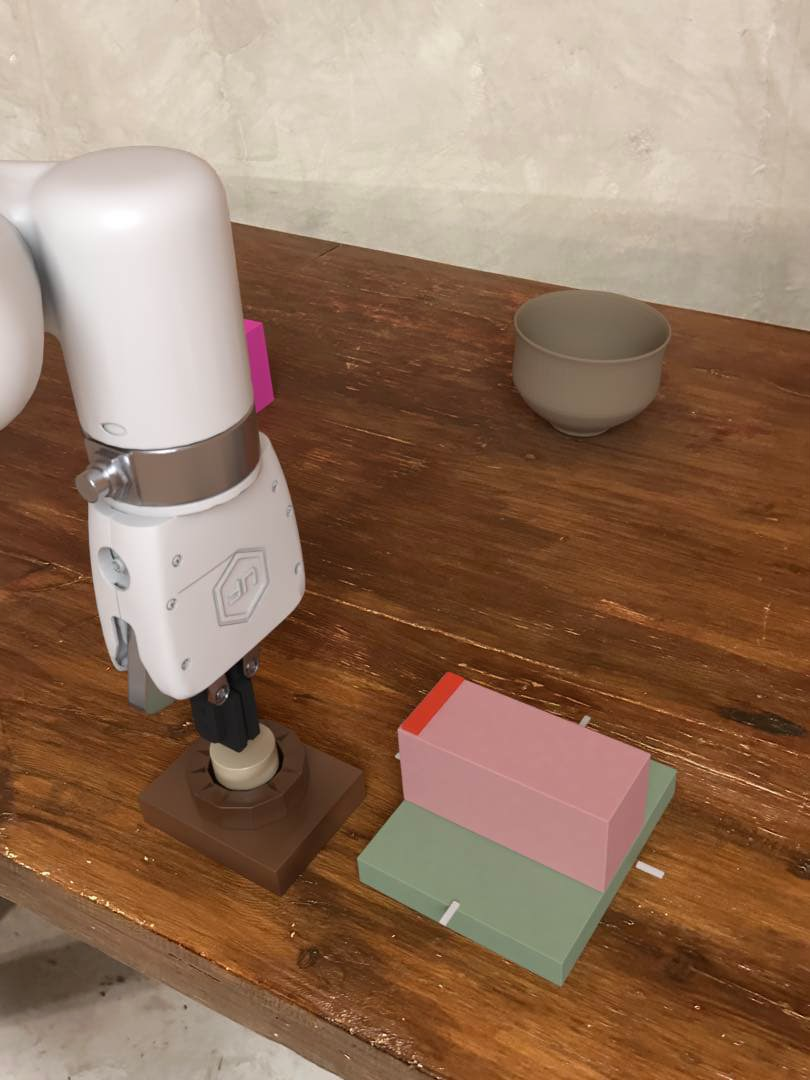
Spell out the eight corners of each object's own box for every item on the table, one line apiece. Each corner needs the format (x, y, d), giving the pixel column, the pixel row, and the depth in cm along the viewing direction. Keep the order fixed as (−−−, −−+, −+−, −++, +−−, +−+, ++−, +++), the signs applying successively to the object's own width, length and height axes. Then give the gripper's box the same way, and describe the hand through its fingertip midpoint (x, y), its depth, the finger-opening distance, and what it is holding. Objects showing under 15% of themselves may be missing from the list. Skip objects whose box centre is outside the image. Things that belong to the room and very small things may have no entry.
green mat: (590, 1027, 53) (592, 1001, 51) (315, 879, 60) (311, 854, 59) (717, 795, 63) (721, 768, 62) (469, 694, 71) (469, 669, 70)
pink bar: (644, 824, 59) (651, 749, 56) (603, 894, 56) (608, 818, 53) (450, 741, 65) (446, 668, 62) (403, 799, 62) (396, 726, 58)
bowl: (661, 469, 90) (671, 357, 84) (503, 460, 92) (502, 350, 86) (664, 392, 100) (673, 286, 94) (521, 385, 102) (521, 282, 96)
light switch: (280, 898, 60) (270, 850, 57) (144, 821, 64) (129, 774, 62) (367, 796, 65) (361, 748, 62) (234, 732, 70) (224, 686, 67)
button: (251, 801, 60) (246, 779, 59) (200, 775, 62) (195, 753, 61) (292, 757, 63) (288, 735, 62) (242, 733, 64) (238, 712, 63)
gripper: (113, 556, 43) (186, 861, 54) (341, 391, 53) (365, 676, 64) (-16, 501, 47) (77, 797, 57) (221, 355, 57) (262, 632, 67)
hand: (228, 733), depth 61 cm, fingers closed
